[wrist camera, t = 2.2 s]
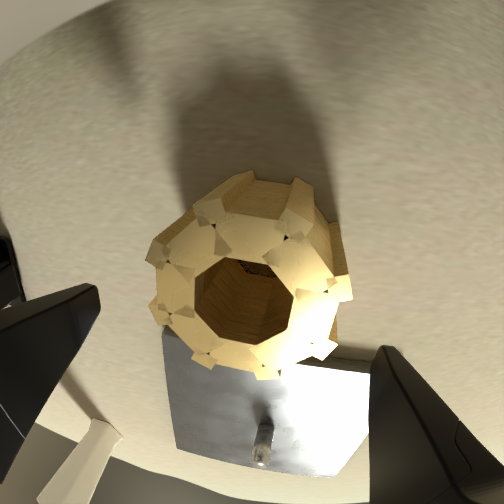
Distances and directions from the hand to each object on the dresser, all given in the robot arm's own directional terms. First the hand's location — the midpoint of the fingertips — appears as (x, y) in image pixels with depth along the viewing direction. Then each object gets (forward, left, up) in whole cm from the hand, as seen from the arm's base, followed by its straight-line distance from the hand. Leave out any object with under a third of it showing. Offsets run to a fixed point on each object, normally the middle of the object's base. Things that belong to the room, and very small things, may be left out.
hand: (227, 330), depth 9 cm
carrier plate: (+2, -13, -6) cm, 15 cm away
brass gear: (0, 0, -6) cm, 6 cm away
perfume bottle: (-14, -24, -7) cm, 28 cm away
